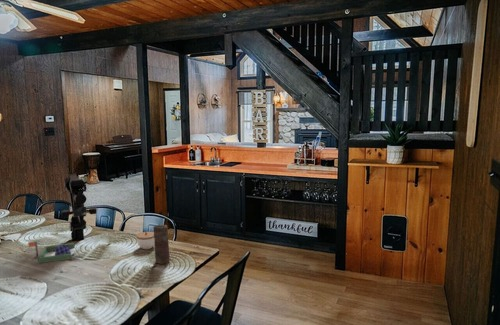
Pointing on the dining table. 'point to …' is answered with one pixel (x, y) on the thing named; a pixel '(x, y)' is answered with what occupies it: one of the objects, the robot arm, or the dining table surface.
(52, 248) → the frame
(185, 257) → the dining table surface
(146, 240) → the lidded jar
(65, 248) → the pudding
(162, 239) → the candle
